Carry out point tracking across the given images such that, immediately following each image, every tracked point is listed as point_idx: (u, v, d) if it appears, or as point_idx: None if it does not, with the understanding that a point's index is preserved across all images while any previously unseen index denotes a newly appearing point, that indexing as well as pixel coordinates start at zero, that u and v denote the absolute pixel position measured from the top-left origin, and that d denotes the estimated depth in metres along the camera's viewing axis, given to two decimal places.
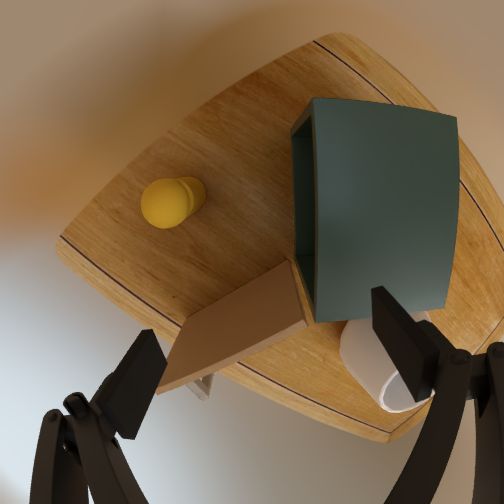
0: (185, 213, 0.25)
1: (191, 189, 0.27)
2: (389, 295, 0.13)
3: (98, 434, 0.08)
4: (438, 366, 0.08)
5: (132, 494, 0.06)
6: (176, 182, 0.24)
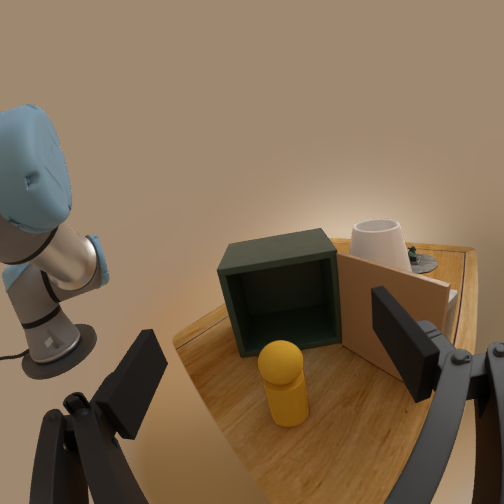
0: None
1: None
2: (389, 295, 0.13)
3: (98, 434, 0.08)
4: (439, 366, 0.08)
5: (132, 494, 0.06)
6: None
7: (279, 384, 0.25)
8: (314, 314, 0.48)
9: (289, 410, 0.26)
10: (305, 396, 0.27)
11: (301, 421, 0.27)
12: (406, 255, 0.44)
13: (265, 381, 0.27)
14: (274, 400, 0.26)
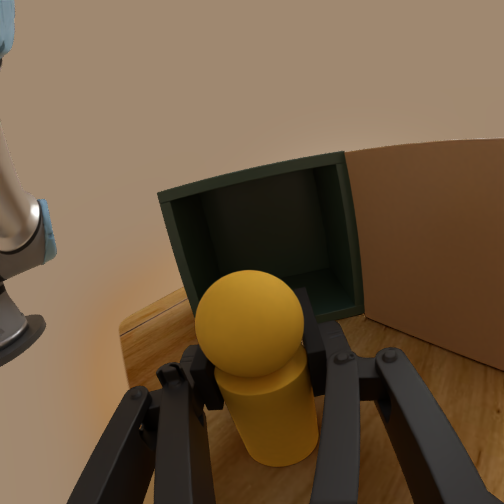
0: None
1: None
2: (306, 296, 0.16)
3: (186, 412, 0.09)
4: (326, 364, 0.11)
5: (200, 483, 0.07)
6: None
7: (246, 376, 0.10)
8: (317, 280, 0.33)
9: (275, 436, 0.11)
10: (311, 405, 0.12)
11: (304, 455, 0.12)
12: None
13: (219, 371, 0.12)
14: (240, 414, 0.11)
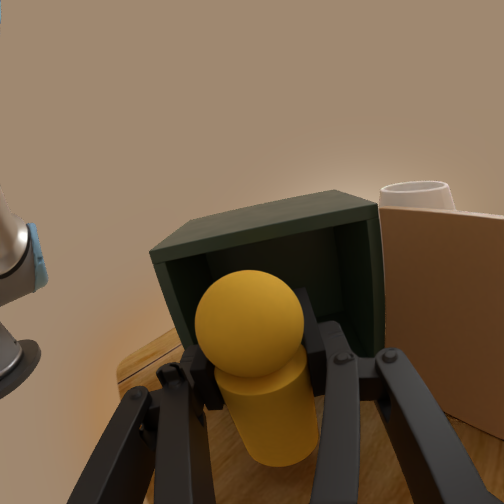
0: None
1: None
2: (306, 296, 0.16)
3: (186, 412, 0.09)
4: (326, 364, 0.11)
5: (200, 483, 0.07)
6: None
7: (246, 376, 0.10)
8: None
9: (276, 436, 0.11)
10: (311, 405, 0.12)
11: (304, 455, 0.12)
12: None
13: (219, 371, 0.12)
14: (240, 414, 0.11)
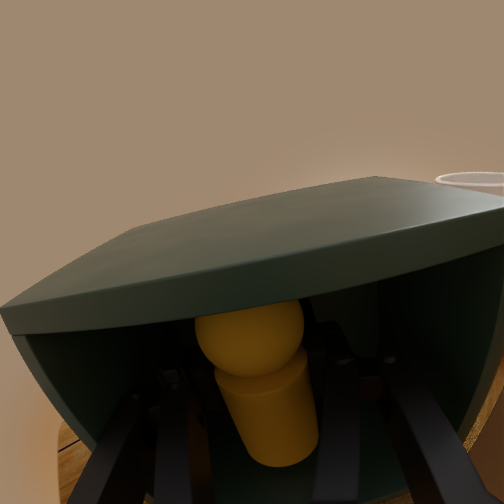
0: None
1: None
2: None
3: (186, 412, 0.09)
4: (326, 364, 0.11)
5: (200, 483, 0.07)
6: None
7: (246, 376, 0.10)
8: (360, 402, 0.16)
9: (276, 436, 0.11)
10: (311, 405, 0.12)
11: (304, 455, 0.12)
12: None
13: (219, 371, 0.12)
14: (240, 414, 0.11)
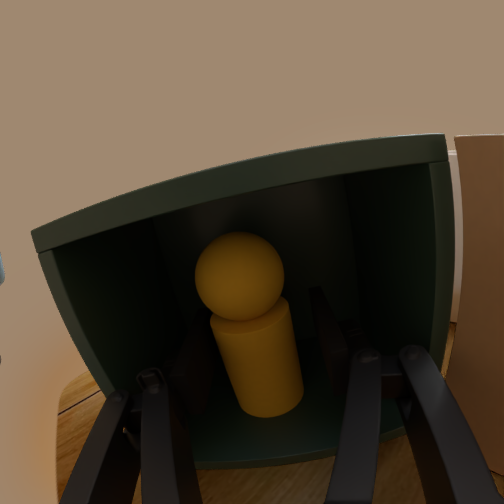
0: None
1: None
2: (322, 294, 0.15)
3: (167, 415, 0.09)
4: (348, 362, 0.10)
5: (186, 484, 0.07)
6: None
7: (235, 317, 0.13)
8: None
9: (262, 380, 0.14)
10: (294, 353, 0.15)
11: (290, 406, 0.15)
12: None
13: (214, 320, 0.15)
14: (232, 356, 0.14)
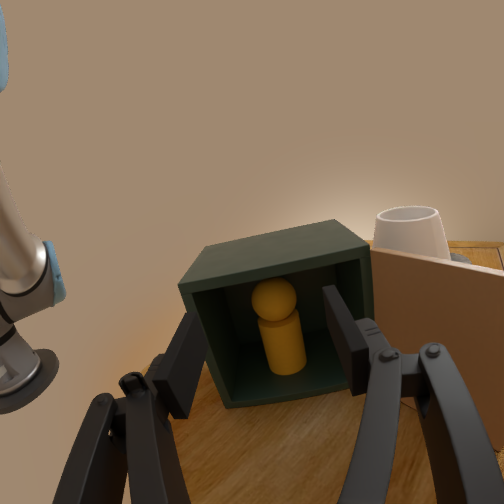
0: None
1: None
2: (337, 294, 0.15)
3: (151, 419, 0.09)
4: (369, 362, 0.10)
5: (173, 485, 0.06)
6: None
7: (273, 319, 0.27)
8: (329, 341, 0.33)
9: (285, 352, 0.28)
10: (301, 338, 0.29)
11: (299, 368, 0.29)
12: (448, 252, 0.30)
13: (260, 321, 0.29)
14: (270, 339, 0.28)
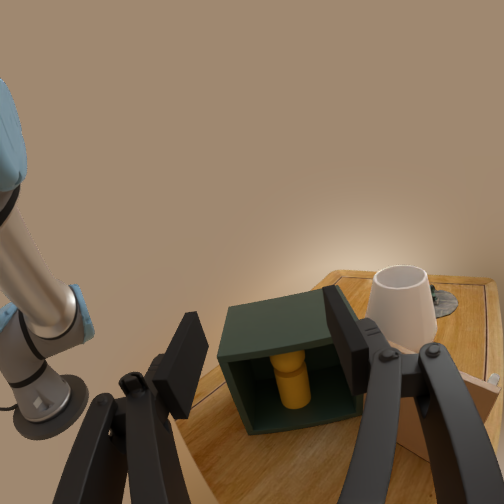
0: None
1: None
2: (337, 294, 0.15)
3: (151, 418, 0.09)
4: (369, 362, 0.10)
5: (173, 485, 0.06)
6: None
7: (286, 372, 0.33)
8: (329, 380, 0.39)
9: (295, 393, 0.34)
10: (307, 382, 0.35)
11: (305, 403, 0.35)
12: (432, 309, 0.36)
13: (275, 371, 0.35)
14: (283, 385, 0.34)
